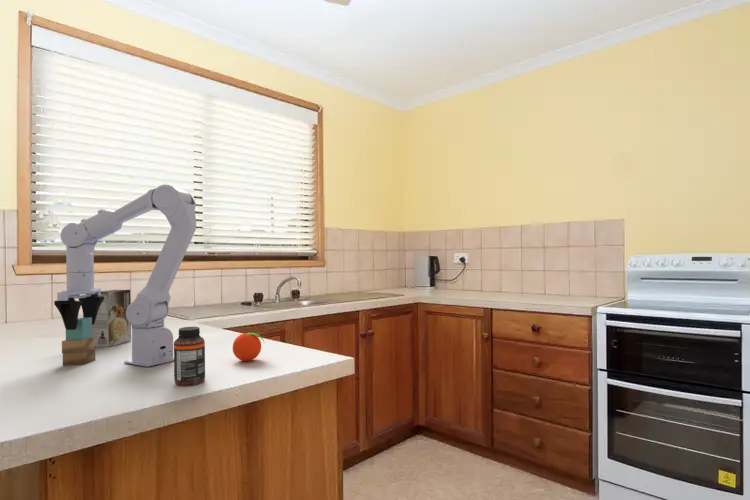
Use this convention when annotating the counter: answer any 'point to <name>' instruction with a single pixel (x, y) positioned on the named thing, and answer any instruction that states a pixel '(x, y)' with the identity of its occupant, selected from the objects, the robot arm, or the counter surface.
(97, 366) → the counter surface
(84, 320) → the teal block
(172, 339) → the robot arm
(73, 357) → the tower lower
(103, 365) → the counter surface
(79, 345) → the tower upper
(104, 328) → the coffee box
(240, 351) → the clementine
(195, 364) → the supplement bottle
